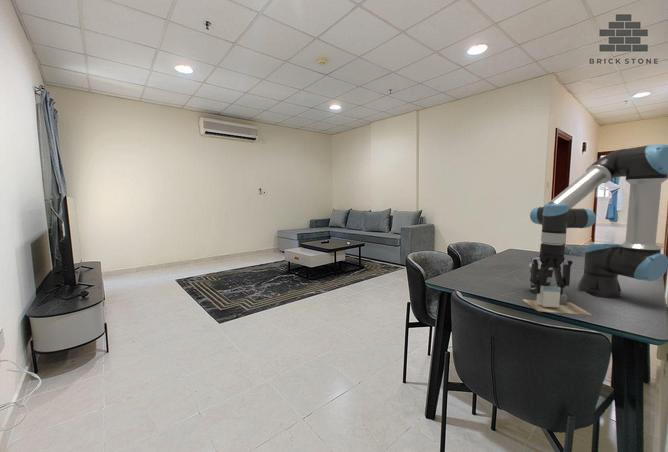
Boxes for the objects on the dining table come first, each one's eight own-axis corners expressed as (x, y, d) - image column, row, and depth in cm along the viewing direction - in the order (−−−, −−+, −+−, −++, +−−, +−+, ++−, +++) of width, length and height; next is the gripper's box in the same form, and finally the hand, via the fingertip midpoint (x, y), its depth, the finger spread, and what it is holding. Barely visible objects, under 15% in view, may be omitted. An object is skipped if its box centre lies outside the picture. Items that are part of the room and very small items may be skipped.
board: (570, 305, 119) (570, 302, 119) (591, 317, 106) (592, 314, 106) (522, 302, 122) (522, 299, 122) (537, 314, 110) (537, 311, 110)
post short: (562, 303, 118) (563, 293, 118) (566, 305, 116) (567, 295, 115) (555, 302, 119) (556, 293, 118) (559, 305, 116) (560, 295, 116)
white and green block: (551, 302, 116) (552, 286, 115) (558, 307, 111) (560, 290, 110) (536, 301, 117) (538, 285, 116) (543, 306, 112) (544, 289, 111)
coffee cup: (545, 300, 125) (547, 265, 124) (522, 293, 134) (524, 261, 132) (557, 296, 129) (559, 263, 128) (534, 290, 138) (536, 259, 136)
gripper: (573, 243, 113) (568, 300, 116) (522, 241, 117) (517, 297, 119) (586, 246, 106) (580, 307, 108) (531, 244, 109) (526, 303, 112)
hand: (547, 302), depth 114 cm, fingers closed on white and green block, 5 cm apart
